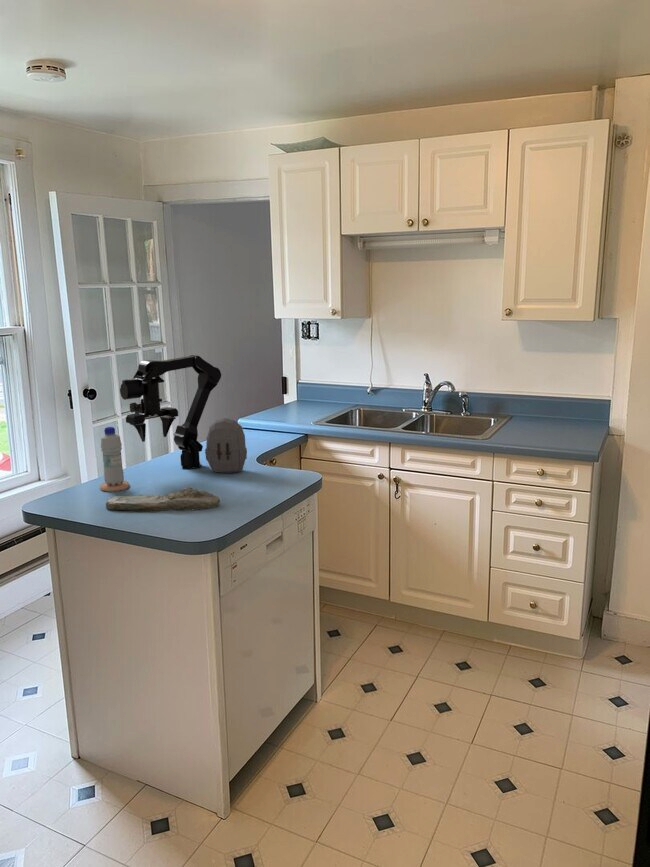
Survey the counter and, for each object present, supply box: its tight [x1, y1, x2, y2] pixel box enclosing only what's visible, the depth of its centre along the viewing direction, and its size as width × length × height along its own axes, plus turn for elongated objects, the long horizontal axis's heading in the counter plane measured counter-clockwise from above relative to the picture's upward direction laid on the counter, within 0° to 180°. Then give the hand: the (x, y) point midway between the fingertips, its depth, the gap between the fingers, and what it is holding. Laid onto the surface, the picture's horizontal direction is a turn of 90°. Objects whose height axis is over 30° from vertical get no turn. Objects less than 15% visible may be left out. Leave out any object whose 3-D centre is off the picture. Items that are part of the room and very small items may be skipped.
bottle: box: [100, 426, 125, 486], centre depth 226 cm, size 7×7×20 cm
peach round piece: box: [99, 480, 130, 492], centre depth 228 cm, size 10×10×1 cm
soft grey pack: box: [204, 417, 248, 474], centre depth 242 cm, size 15×8×20 cm, turn 84°
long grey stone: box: [105, 486, 221, 512], centre depth 208 cm, size 35×5×10 cm
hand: (154, 439), depth 241 cm, fingers open, 9 cm apart
